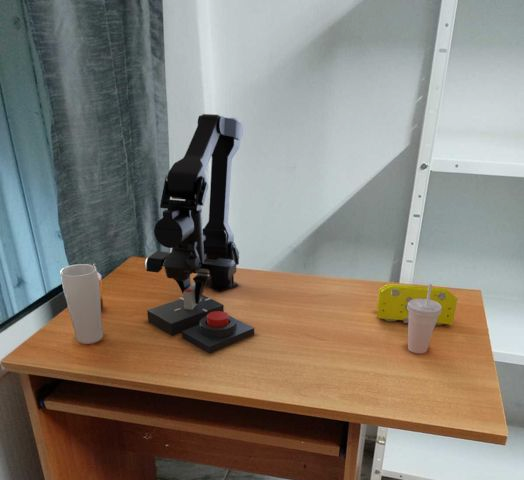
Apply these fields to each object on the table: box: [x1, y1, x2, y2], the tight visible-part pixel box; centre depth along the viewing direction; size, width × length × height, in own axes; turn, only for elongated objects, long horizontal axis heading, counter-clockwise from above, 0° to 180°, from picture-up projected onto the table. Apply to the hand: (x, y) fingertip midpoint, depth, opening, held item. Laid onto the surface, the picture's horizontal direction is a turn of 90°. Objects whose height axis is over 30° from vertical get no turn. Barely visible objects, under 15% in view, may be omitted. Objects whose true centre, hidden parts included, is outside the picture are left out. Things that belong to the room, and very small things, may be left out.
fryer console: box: [146, 294, 225, 337], centre depth 117 cm, size 14×10×3 cm
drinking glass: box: [60, 263, 104, 345], centre depth 106 cm, size 7×7×15 cm
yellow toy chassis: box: [376, 283, 458, 326], centre depth 117 cm, size 16×6×8 cm, turn 79°
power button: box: [207, 311, 230, 327], centre depth 109 cm, size 4×4×2 cm
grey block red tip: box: [182, 282, 202, 310], centre depth 117 cm, size 6×2×4 cm, turn 163°
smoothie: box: [407, 283, 442, 354], centre depth 104 cm, size 6×6×14 cm
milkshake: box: [93, 263, 104, 313], centre depth 120 cm, size 4×5×10 cm
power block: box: [181, 315, 255, 355], centre depth 110 cm, size 12×9×4 cm
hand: (192, 302), depth 118 cm, fingers closed on grey block red tip, 2 cm apart
